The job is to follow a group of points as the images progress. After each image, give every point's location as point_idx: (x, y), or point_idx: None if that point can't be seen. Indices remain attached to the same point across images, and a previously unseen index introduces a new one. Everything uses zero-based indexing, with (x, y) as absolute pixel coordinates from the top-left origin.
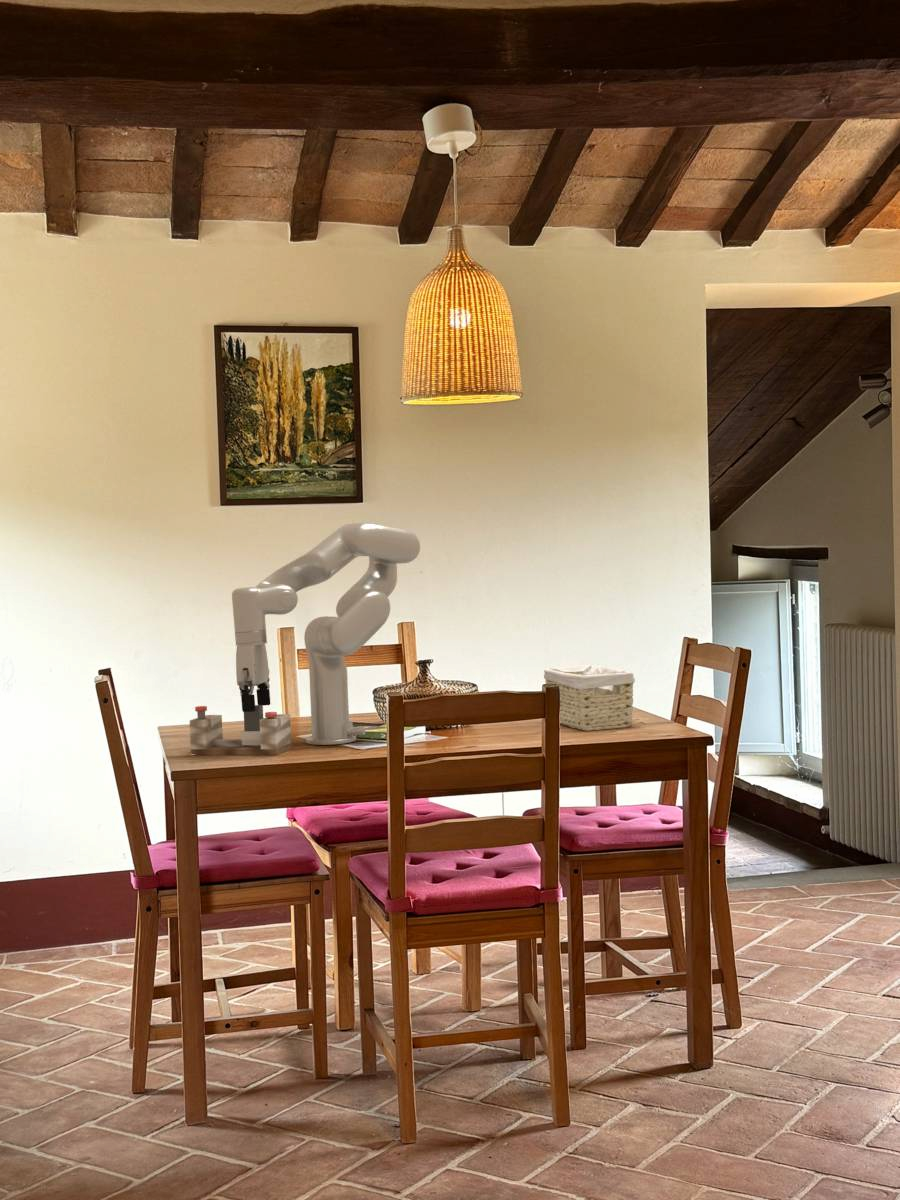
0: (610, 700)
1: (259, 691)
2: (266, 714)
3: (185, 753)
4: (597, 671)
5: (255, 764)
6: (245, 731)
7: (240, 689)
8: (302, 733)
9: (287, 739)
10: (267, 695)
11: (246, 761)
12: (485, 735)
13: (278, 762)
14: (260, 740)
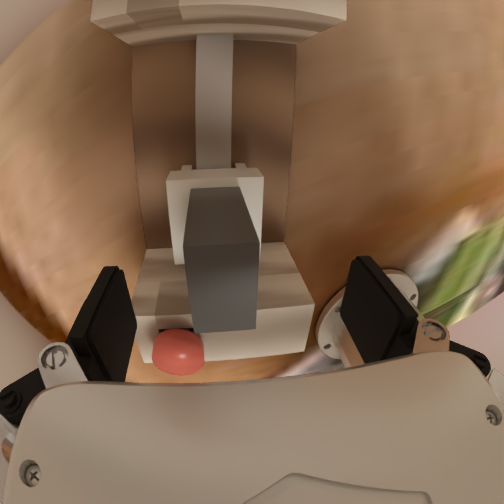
0: None
1: (386, 328)
2: (153, 348)
3: None
4: None
5: (37, 281)
6: (180, 198)
7: (7, 392)
8: (487, 208)
9: None
10: (359, 346)
11: (58, 242)
12: None
13: (74, 318)
14: (142, 265)
